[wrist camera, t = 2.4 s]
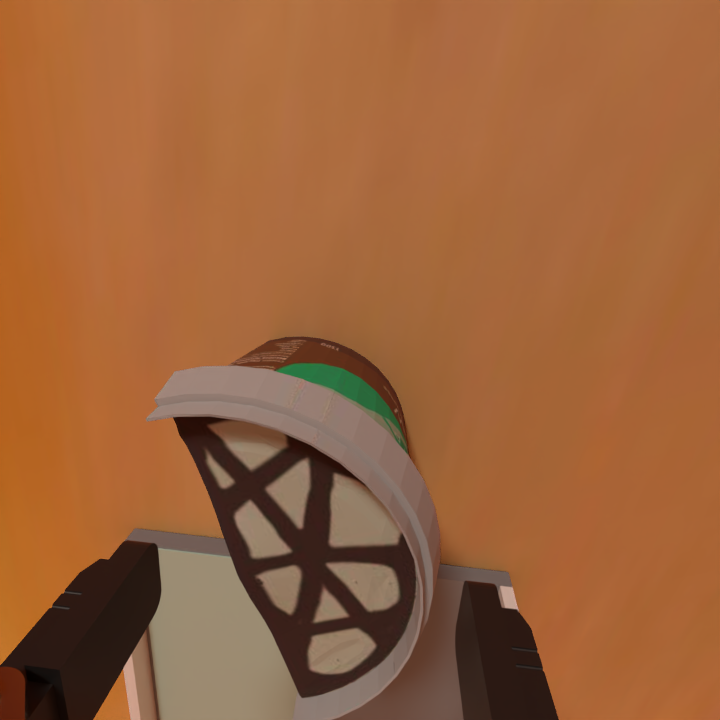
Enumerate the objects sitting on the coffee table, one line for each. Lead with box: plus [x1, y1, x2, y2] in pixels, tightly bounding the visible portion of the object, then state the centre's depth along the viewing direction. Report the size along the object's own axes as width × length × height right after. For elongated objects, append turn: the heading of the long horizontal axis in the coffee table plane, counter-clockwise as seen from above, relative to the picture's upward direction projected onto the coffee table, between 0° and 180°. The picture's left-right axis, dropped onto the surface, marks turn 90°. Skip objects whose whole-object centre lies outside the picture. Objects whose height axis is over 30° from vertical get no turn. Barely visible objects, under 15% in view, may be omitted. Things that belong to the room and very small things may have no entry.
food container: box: [146, 337, 440, 720], centre depth 18 cm, size 12×6×10 cm, turn 16°
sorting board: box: [123, 529, 518, 720], centre depth 26 cm, size 20×14×2 cm
